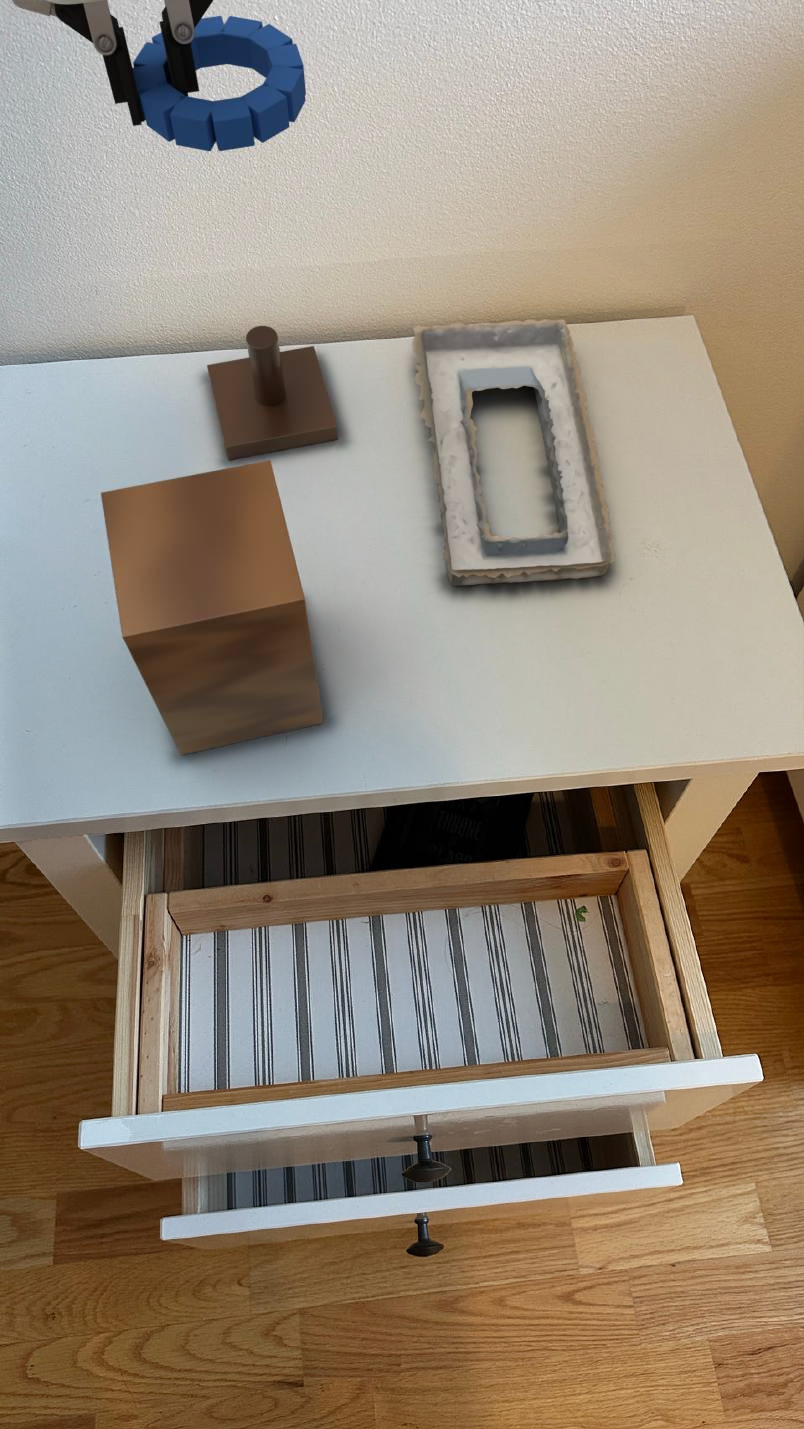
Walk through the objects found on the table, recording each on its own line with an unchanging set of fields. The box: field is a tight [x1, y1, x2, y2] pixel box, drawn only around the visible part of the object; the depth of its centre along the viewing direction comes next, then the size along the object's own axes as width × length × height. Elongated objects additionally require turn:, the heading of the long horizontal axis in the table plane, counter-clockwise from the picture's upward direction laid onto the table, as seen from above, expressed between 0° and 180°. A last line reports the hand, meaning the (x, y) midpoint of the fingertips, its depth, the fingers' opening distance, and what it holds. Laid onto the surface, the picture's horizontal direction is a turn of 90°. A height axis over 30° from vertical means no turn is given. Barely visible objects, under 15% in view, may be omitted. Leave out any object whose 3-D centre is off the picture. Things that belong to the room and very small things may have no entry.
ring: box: [132, 15, 307, 152], centre depth 57 cm, size 10×10×2 cm
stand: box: [100, 459, 324, 756], centre depth 62 cm, size 10×10×16 cm
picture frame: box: [411, 318, 616, 586], centre depth 77 cm, size 13×25×3 cm, turn 6°
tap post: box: [206, 325, 339, 461], centre depth 77 cm, size 9×9×8 cm
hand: (159, 104), depth 57 cm, fingers closed on ring, 2 cm apart
